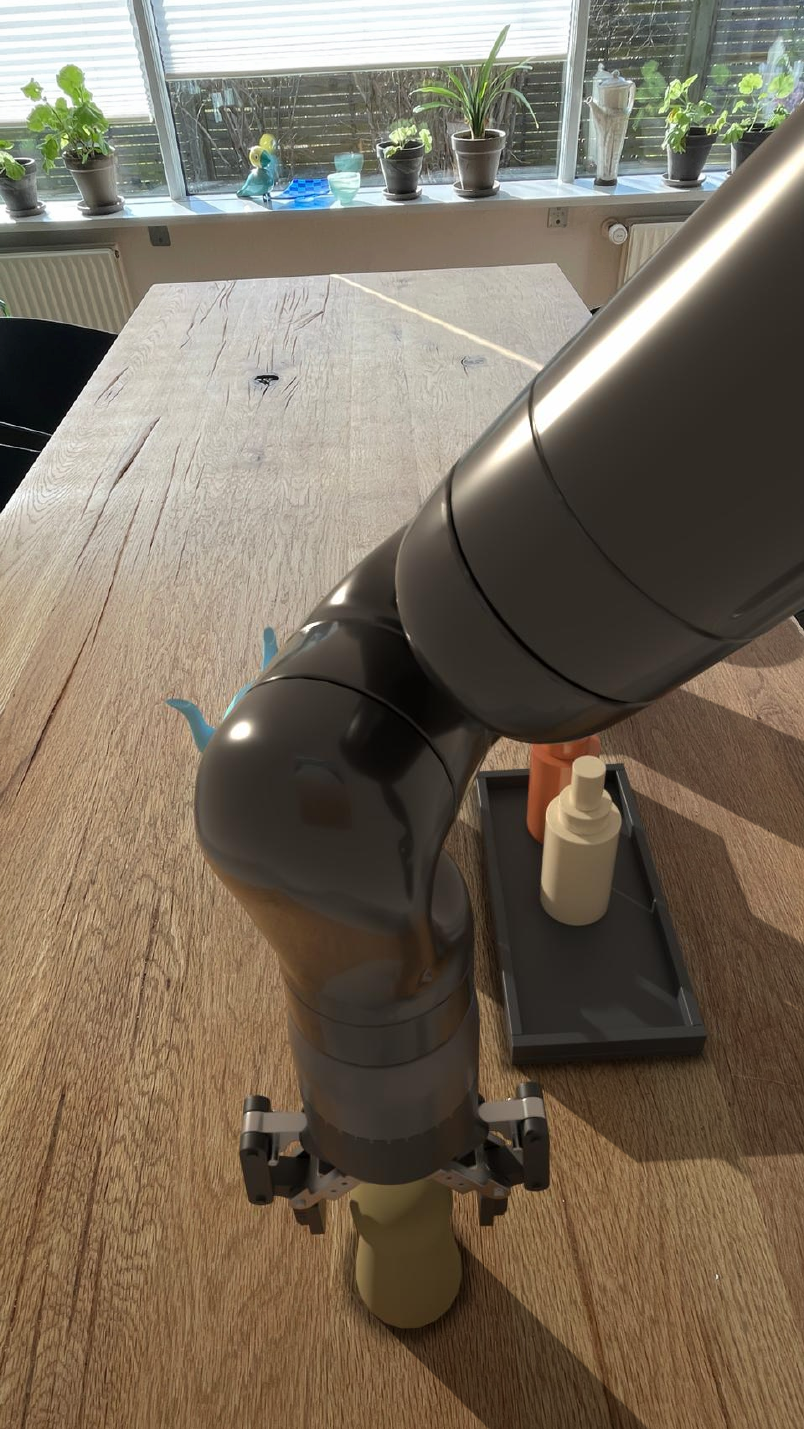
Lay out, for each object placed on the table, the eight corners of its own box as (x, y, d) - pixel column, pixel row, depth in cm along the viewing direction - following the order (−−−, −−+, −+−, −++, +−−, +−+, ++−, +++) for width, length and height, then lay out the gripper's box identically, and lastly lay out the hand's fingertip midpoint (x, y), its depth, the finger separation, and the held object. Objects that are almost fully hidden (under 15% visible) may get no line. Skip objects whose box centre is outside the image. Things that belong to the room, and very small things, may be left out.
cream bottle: (623, 902, 71) (646, 771, 62) (572, 938, 69) (588, 806, 60) (575, 860, 75) (590, 729, 66) (525, 893, 72) (533, 762, 63)
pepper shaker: (385, 1194, 57) (373, 1104, 50) (478, 1240, 55) (480, 1152, 47) (336, 1296, 53) (315, 1214, 46) (435, 1350, 51) (429, 1273, 43)
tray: (701, 1054, 63) (707, 1035, 61) (511, 1065, 63) (512, 1046, 61) (620, 782, 82) (623, 762, 81) (475, 790, 82) (475, 771, 81)
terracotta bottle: (604, 829, 77) (622, 698, 68) (556, 859, 75) (568, 728, 66) (559, 793, 80) (571, 663, 71) (513, 821, 78) (519, 691, 69)
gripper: (198, 1146, 36) (258, 1299, 46) (578, 1126, 36) (551, 1284, 46) (220, 974, 41) (270, 1145, 52) (548, 957, 41) (530, 1131, 52)
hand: (402, 1210), depth 49 cm, fingers open, 8 cm apart
